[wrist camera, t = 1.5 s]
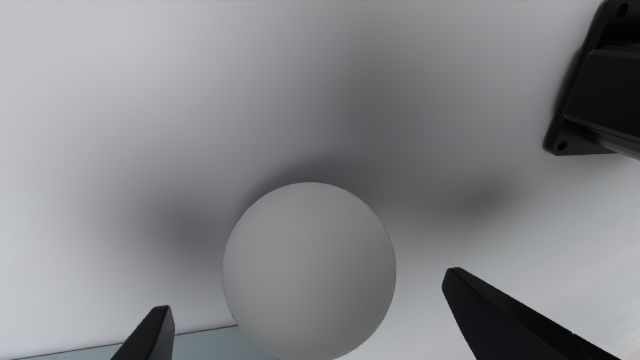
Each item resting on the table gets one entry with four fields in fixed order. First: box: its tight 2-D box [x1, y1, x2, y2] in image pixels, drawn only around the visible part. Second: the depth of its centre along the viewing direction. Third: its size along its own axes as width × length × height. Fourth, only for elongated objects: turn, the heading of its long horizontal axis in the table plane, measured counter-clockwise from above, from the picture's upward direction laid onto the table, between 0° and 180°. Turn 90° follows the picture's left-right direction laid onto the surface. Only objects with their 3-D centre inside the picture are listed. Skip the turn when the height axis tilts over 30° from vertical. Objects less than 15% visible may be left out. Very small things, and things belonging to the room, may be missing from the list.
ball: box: [222, 182, 396, 360], centre depth 11 cm, size 6×6×6 cm
